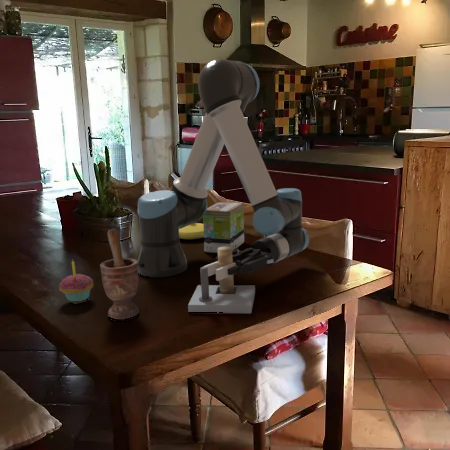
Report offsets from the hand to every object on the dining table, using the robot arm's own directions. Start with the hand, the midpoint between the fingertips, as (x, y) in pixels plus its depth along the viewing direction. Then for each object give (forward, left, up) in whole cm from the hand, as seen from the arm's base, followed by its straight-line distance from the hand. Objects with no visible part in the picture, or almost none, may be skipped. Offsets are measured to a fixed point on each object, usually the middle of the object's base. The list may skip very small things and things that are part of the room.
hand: (210, 273), depth 117 cm
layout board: (+3, +1, -8) cm, 9 cm away
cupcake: (-35, +1, -8) cm, 37 cm away
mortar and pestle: (-21, -6, -8) cm, 24 cm away
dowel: (+3, +4, -7) cm, 9 cm away
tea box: (-3, +51, -8) cm, 51 cm away
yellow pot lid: (-17, +64, -8) cm, 67 cm away
